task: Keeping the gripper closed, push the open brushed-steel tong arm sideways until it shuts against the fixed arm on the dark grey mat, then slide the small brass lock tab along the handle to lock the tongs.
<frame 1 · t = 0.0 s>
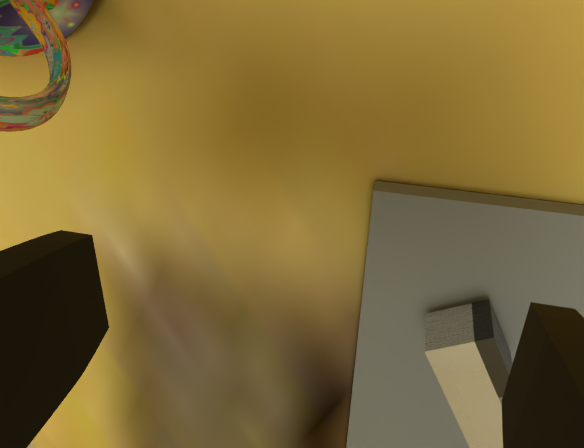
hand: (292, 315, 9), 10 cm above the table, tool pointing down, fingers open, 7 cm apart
mat: (568, 386, 21), on the table
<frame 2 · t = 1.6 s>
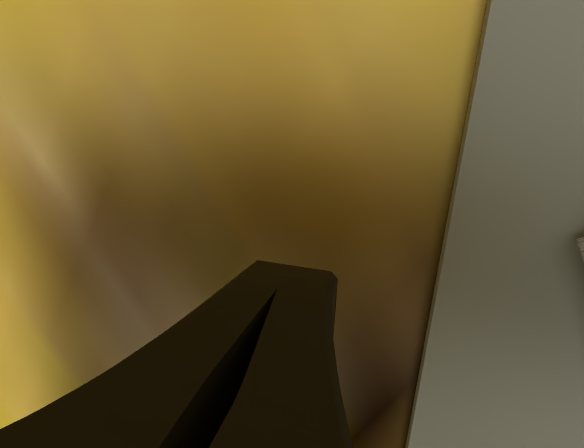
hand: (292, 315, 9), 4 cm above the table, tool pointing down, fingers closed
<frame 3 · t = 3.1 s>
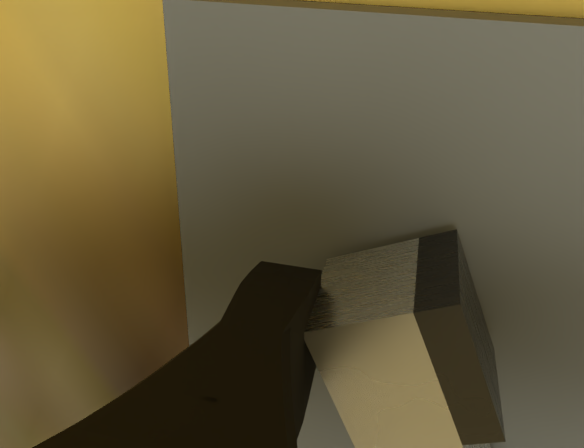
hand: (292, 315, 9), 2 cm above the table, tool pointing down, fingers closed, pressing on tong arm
mat: (578, 418, 11), on the table
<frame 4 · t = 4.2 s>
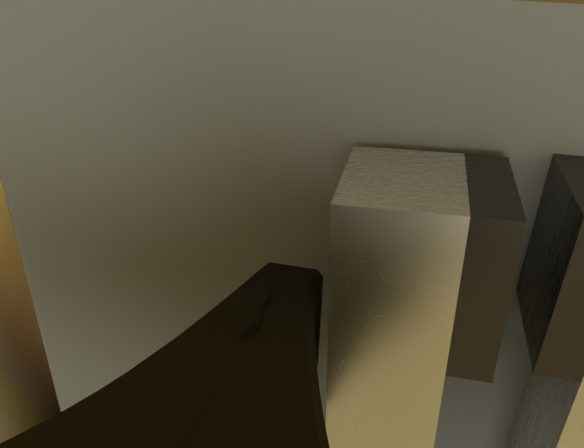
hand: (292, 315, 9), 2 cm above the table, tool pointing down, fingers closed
mat: (399, 375, 12), on the table
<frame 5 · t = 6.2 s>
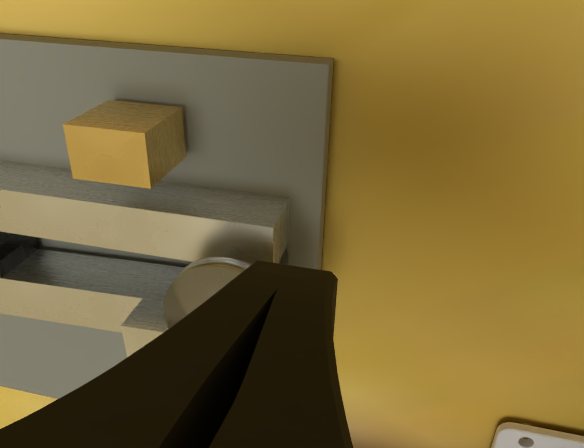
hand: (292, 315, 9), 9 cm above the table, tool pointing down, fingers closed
mat: (129, 256, 21), on the table
lock tab: (128, 141, 16), point 2 cm above the table, slide at 0.0 cm
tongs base: (266, 242, 19), resting on mat
tong arm: (108, 276, 18), point 3 cm above the table, hinge at 2.2°
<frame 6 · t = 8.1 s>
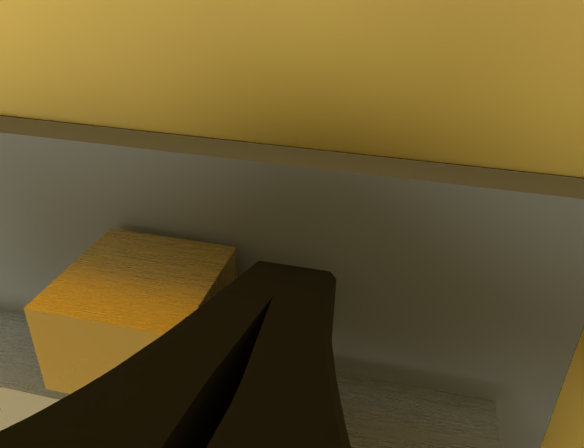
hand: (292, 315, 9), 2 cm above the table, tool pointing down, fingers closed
mat: (195, 433, 14), on the table
lock tab: (145, 314, 9), point 2 cm above the table, slide at 1.5 cm, touching gripper
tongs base: (423, 439, 12), resting on mat
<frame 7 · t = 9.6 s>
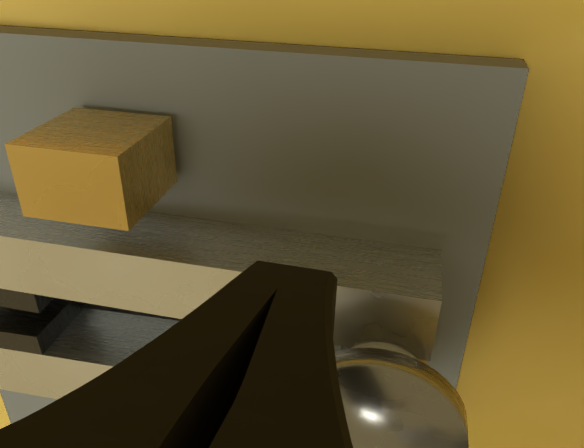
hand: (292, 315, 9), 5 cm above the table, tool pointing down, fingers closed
mat: (199, 313, 16), on the table
lock tab: (99, 164, 12), point 2 cm above the table, slide at 3.0 cm
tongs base: (389, 301, 15), resting on mat
tong arm: (189, 355, 13), point 3 cm above the table, hinge at 2.2°
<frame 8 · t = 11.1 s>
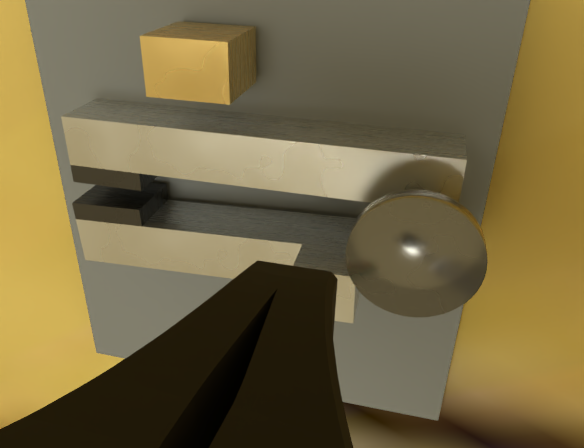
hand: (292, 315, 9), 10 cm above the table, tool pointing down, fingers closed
mat: (260, 208, 20), on the table
lock tab: (202, 60, 15), point 2 cm above the table, slide at 3.0 cm
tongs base: (420, 189, 18), resting on mat
tong arm: (263, 222, 17), point 3 cm above the table, hinge at 2.2°
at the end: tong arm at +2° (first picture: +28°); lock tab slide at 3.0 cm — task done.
